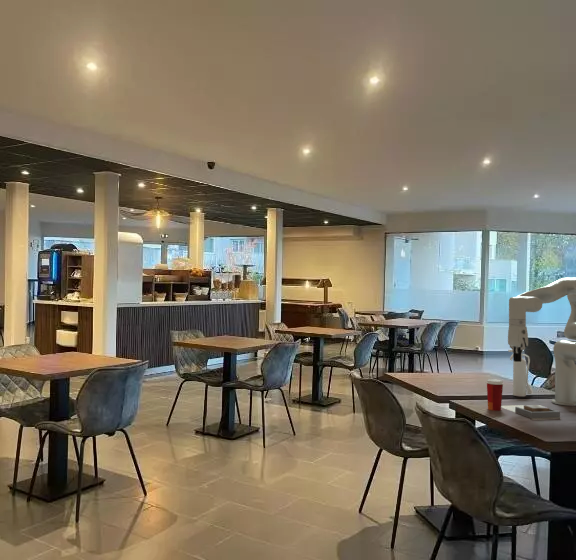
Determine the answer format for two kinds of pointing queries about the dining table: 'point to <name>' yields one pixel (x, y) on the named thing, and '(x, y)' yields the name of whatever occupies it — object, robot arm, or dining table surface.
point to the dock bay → (539, 415)
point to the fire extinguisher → (520, 376)
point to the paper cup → (494, 394)
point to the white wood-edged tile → (536, 408)
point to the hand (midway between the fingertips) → (517, 361)
